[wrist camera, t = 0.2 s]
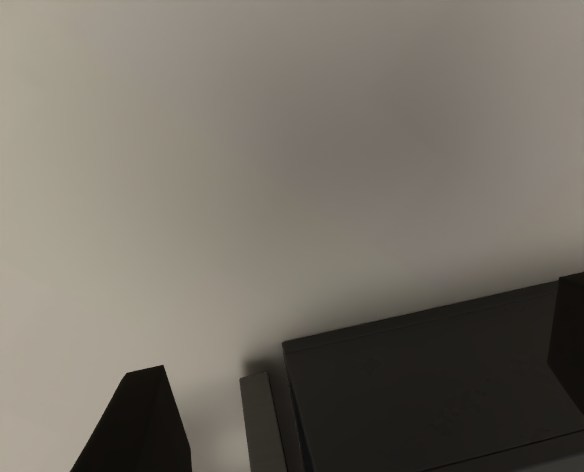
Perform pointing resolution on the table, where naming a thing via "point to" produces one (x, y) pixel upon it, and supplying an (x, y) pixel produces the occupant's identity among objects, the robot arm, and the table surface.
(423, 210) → the table surface
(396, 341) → the black drawer box
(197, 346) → the table surface
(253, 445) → the drawer
